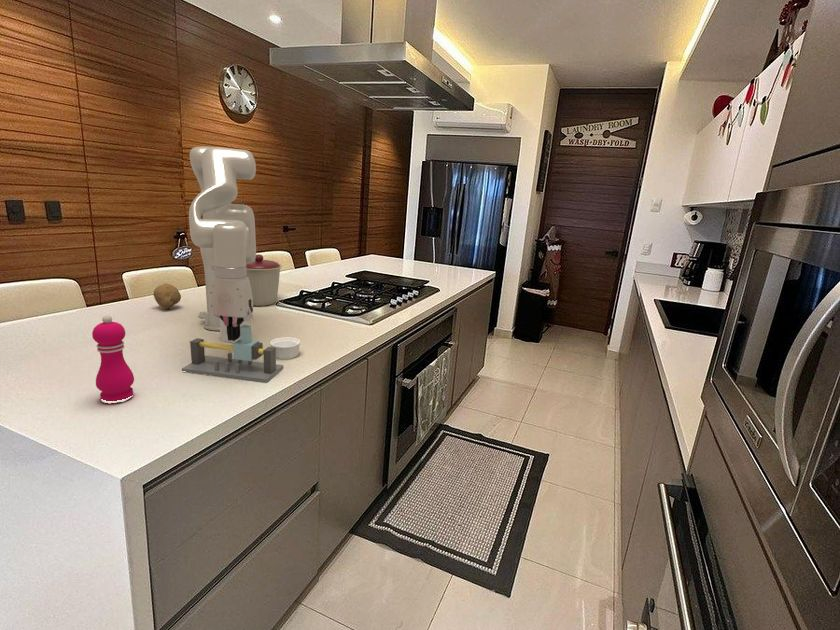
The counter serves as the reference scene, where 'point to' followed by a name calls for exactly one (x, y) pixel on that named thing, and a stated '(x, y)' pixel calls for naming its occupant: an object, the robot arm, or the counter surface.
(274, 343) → the ramekin
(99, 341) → the pepper mill
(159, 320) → the counter surface
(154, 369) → the counter surface
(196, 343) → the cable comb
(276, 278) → the canister
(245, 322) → the small box
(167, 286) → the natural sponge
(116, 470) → the counter surface
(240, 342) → the sleeve
